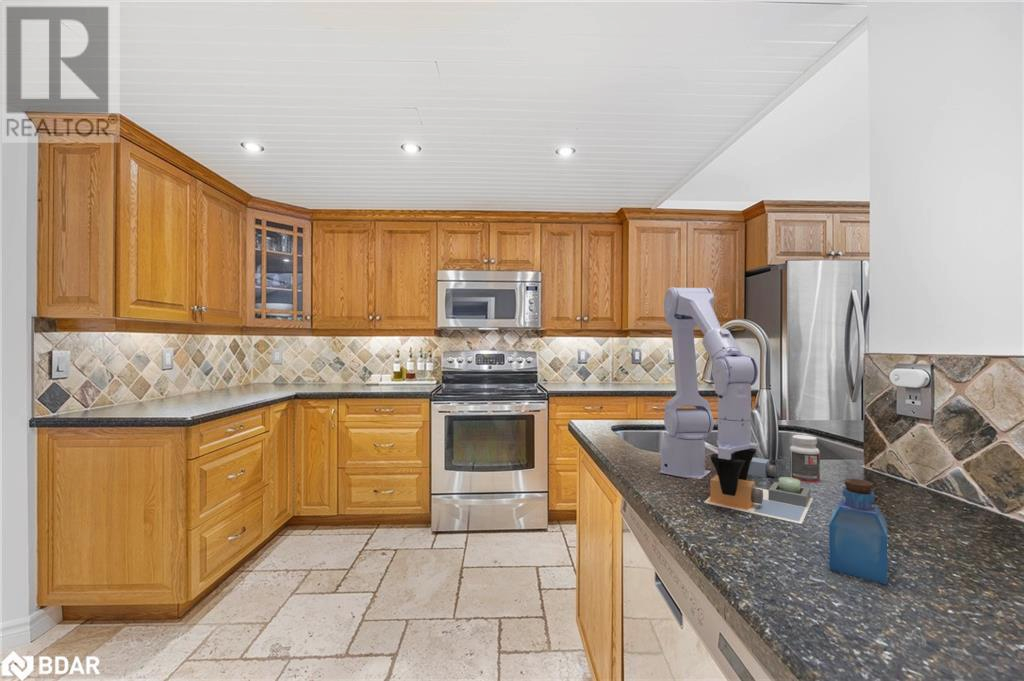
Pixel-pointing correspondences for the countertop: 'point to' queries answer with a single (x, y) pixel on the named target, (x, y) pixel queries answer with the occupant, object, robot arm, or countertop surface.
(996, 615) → the countertop surface
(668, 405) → the robot arm
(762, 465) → the grey-capped blue block
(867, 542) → the perfume bottle
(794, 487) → the button
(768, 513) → the sheet
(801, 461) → the pill bottle
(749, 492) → the orange marker
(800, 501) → the button housing
